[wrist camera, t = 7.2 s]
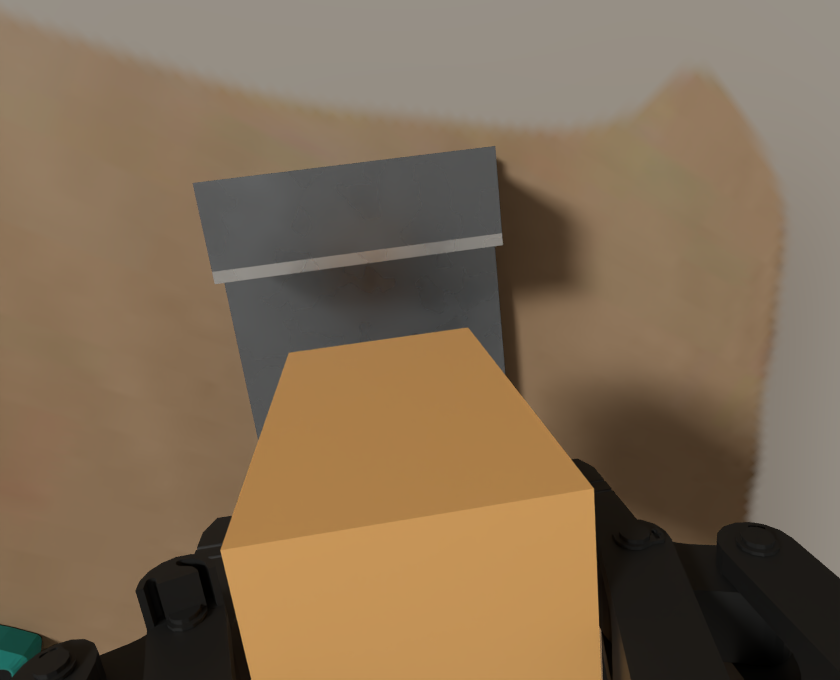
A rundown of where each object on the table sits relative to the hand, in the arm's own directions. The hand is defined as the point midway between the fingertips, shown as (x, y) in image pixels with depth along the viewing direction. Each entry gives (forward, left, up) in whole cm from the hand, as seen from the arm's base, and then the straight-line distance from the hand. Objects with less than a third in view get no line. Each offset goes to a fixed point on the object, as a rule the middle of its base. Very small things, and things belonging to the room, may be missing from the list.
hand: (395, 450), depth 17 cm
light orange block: (0, 0, 0) cm, 0 cm away
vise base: (-6, 0, -17) cm, 18 cm away
